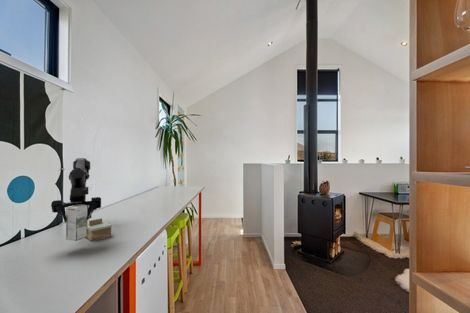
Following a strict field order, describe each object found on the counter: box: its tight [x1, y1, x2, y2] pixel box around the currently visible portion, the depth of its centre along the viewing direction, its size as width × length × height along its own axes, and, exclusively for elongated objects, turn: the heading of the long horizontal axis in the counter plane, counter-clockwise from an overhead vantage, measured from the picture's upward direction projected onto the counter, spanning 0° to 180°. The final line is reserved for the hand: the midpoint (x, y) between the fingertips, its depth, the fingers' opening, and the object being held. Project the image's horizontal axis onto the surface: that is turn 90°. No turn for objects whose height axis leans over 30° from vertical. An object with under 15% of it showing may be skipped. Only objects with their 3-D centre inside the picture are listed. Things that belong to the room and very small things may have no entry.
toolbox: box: [84, 227, 112, 242], centre depth 122 cm, size 12×9×5 cm
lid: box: [87, 218, 113, 231], centre depth 122 cm, size 12×9×4 cm
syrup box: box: [65, 204, 88, 242], centre depth 105 cm, size 6×6×14 cm
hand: (76, 220), depth 104 cm, fingers closed on syrup box, 8 cm apart
